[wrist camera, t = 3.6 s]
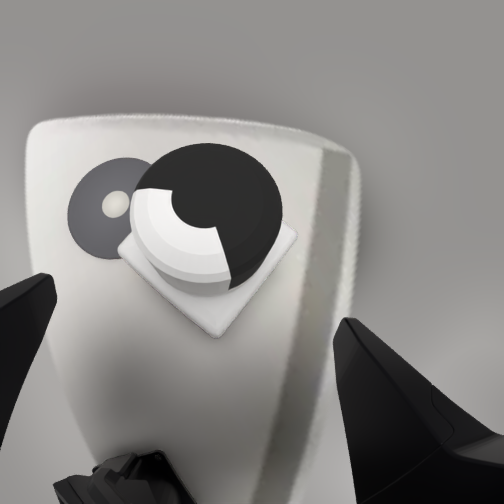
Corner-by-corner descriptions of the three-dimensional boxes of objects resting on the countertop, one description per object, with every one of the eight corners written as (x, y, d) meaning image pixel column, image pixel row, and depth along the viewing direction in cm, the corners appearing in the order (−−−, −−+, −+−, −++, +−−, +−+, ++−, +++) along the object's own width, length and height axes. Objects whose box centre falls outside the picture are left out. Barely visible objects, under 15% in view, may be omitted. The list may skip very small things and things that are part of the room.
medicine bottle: (203, 209, 24) (199, 99, 12) (276, 265, 23) (334, 189, 12) (142, 277, 22) (76, 211, 10) (216, 340, 21) (219, 339, 10)
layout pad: (185, 232, 23) (185, 231, 23) (81, 276, 21) (80, 275, 21) (152, 145, 25) (151, 143, 25) (62, 184, 23) (60, 182, 22)
